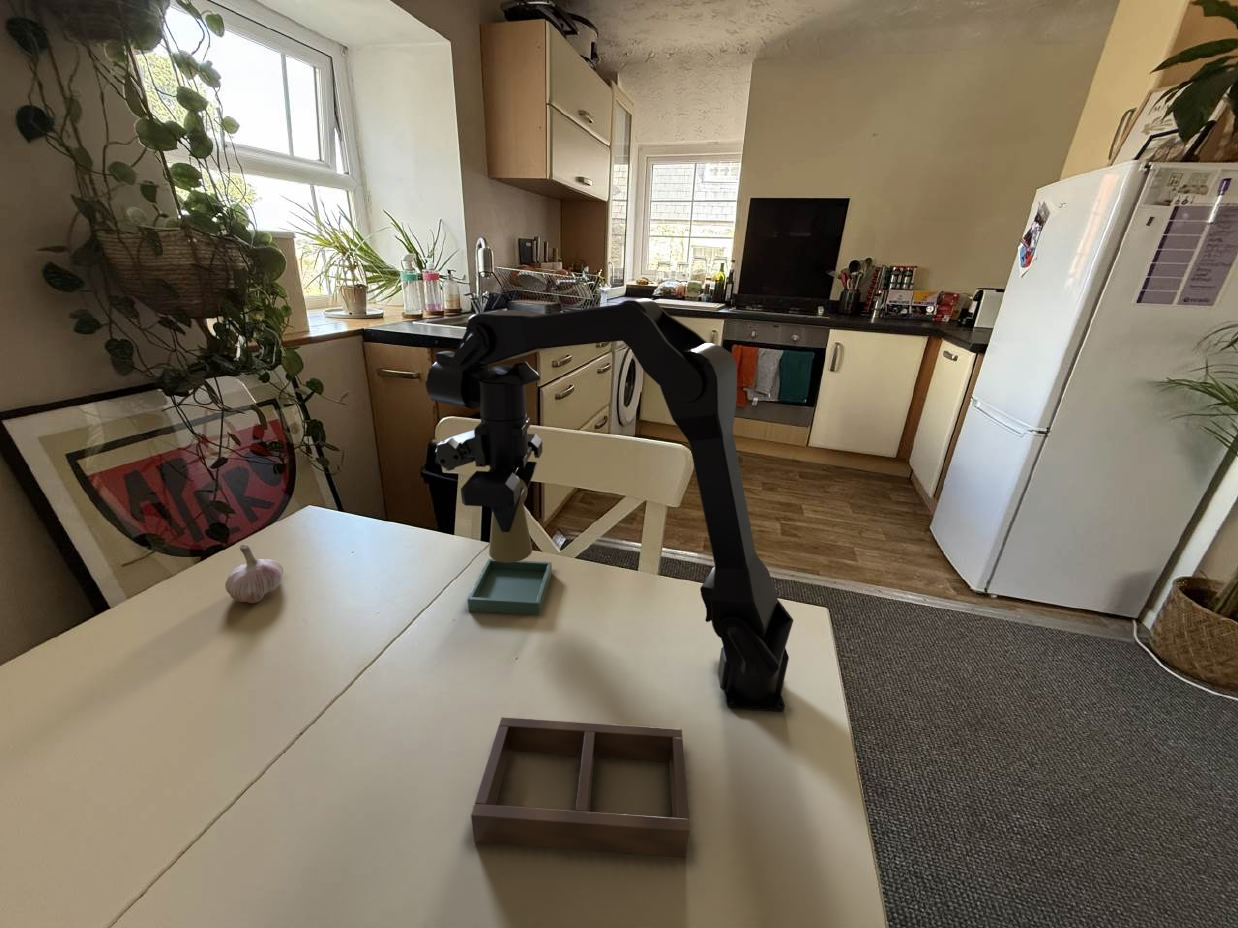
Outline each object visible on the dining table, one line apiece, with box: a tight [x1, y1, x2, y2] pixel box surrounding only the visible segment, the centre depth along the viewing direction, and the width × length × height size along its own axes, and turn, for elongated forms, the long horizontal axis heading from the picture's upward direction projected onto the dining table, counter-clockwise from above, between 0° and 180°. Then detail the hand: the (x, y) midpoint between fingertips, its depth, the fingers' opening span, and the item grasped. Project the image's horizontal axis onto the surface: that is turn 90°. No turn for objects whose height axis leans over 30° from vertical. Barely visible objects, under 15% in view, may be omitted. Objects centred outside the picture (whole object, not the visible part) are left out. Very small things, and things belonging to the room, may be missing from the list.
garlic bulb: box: [224, 543, 285, 604], centre depth 70 cm, size 8×7×8 cm
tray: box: [467, 558, 553, 616], centre depth 73 cm, size 10×10×2 cm
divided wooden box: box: [470, 716, 691, 858], centre depth 45 cm, size 18×10×4 cm, turn 87°
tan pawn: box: [488, 478, 533, 563], centre depth 68 cm, size 6×6×11 cm
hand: (509, 522), depth 69 cm, fingers closed on tan pawn, 4 cm apart
